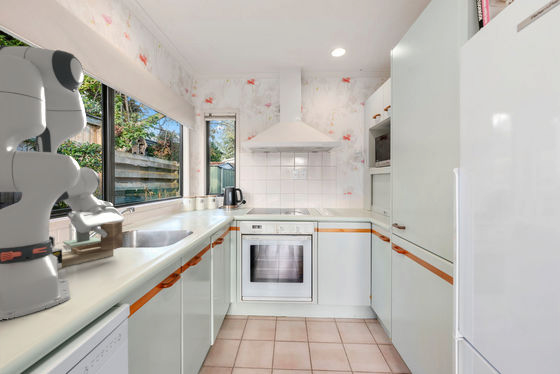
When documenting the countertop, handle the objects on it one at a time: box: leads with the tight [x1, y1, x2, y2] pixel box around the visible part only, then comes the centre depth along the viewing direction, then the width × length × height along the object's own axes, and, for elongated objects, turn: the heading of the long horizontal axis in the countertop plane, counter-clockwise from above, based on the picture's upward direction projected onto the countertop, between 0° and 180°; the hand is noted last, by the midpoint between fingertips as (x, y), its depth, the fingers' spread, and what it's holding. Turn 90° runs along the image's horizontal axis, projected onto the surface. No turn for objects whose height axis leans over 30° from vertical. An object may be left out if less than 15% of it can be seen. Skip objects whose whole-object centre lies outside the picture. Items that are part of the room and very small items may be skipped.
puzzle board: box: [62, 242, 114, 268], centre depth 100 cm, size 12×18×4 cm, turn 143°
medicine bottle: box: [49, 235, 63, 269], centre depth 88 cm, size 7×7×12 cm
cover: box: [63, 230, 101, 248], centre depth 109 cm, size 11×11×6 cm
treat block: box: [100, 222, 123, 251], centre depth 99 cm, size 5×5×10 cm
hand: (113, 234), depth 99 cm, fingers closed on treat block, 5 cm apart
